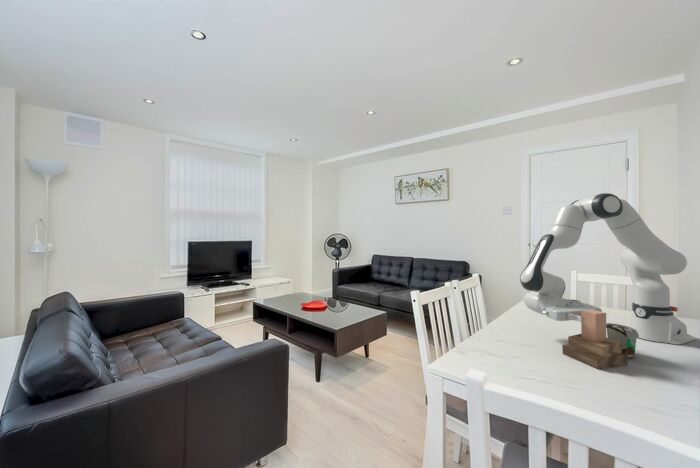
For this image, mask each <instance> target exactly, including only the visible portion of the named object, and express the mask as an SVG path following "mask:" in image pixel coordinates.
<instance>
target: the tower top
mask: <svg viewBox="0 0 700 468" xmlns="http://www.w3.org/2000/svg"><path fill="white" fill-rule="evenodd" d="M567 337H568V338H567V339H568V347H569V348H572V349H575V350H578V351H581V352H584V353H587V354H590V355H593V356H596V357H599V358H602V359H604V358H608V357H611V356H614V355H618V354H621V353H622V342H619V341H616V340H612V339H609V338H608V337H606V341H601V342H594V341H591V340H588V339H585V338H582V337H581V333H579V334H574V335H569V336H567Z"/></svg>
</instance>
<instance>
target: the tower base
mask: <svg viewBox="0 0 700 468" xmlns="http://www.w3.org/2000/svg"><path fill="white" fill-rule="evenodd" d="M562 355H564V356H566V357H568V358H570V359H572V360H576V361H577V362H580V363H582V364H584V365H586V366H588V367H591V368H592V369H596V370H602V369H603V370H605V369H610V368H617V367H619V368H620V367H625V366H629V363H628V362H629V361H628V360H629V359H628V355H625V354H623V353H621V354H618V355H614V356H611V357H608V358H604V359H602V358H599V357H596V356H593V355H590V354H587V353H584V352H581V351H578V350H575V349H572V348H569V347H568V344H562Z"/></svg>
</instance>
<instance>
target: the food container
mask: <svg viewBox="0 0 700 468" xmlns="http://www.w3.org/2000/svg"><path fill="white" fill-rule="evenodd" d="M606 337H607V338H609V339H612V340H616V341H619V342H622V353H623V354H625V355H628V360H633V359H635V355H636V348H637V347H636V346H637V339H640V338H639V335H638V332H637V330H636V329H634V328H631V327H629V326H627V325H623V324H619V323H610V322H606Z"/></svg>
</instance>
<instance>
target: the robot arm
mask: <svg viewBox="0 0 700 468" xmlns="http://www.w3.org/2000/svg"><path fill="white" fill-rule="evenodd" d="M599 220H604V222H605V224H606V225H607V226H608V228H609V230H610V231H611V232H612V234H613V235H614V237H615V238H616V240H617V241H618V243H620V244H621V245H622V246H623V247H626V249H624V250H623V251H622V252H621V255H620V257H619V258H620V262H621V264H622V265H623V266H624V267H625V268H626V270H627V272H628V274H629V276H630V280H631V283H632V289H633V290H632V291H633V292H632V293H633V302H632V303H631V308H632V309H631V310H632V312H631V313H630V316H629V324H628V325H629V326H628V327H631V328H634V329H636V330H637V332H638V335H639V338H638V339H642V340H646V341H651V342H656V343H657V342H658V343H667V344H672V345H678V346H679V345H683V344H686V343H689V342H692V341H693V342H694V341H696V340H697V338H696V337H695V336H693V335H691V334H688V327H687V325H686V324H685V322H683V321H681V320H680V319H679V318H678V317H676V315H674V312H675V313H677V312H678V310H679V308H678V307H677V306H672V305H671V303H670V301H671V292H670V291H671V290H670V287H669V286H668V285H667V284H666V283H665V282H664V280H663V279H662V276H666V275H667V276H669V275H677V274H678V275H679V274H680V273H682V272H683V271H685V270H686V267H687V266H688V261H687V258H686V256H685V255H684V254H683V253H681V252H680V251H677V250H676V249H674V248H672V247H670V245H668V244H667V243H666V242H664V241H663V240H661V239H660V237H658V236H657V235H656V234H655V233H654V232H652V230H651V229H650V228H649V226H648V225H647V224H646V222H645V221H644V220H643V218H642V217H641V216H640V214H639V213H638V212H637V210H636V209H635V208H634V207H633V206H632V205H631V204H630V203H629V202H628V201H626V200H625V199H622V198H620V197H618V196H617V195H615V194H613V193H609V192H608V193H607V192H606V193H600V194H599V193H598V194H594V195H589V196H588V195H587V196H586V197H584V198H581V199H577V200H574V201H573V202H571V203H570V204H565V205H562V206H561V207H560V208H559V209H558V210H557V212H556V214H555V216H554V218H553V221H552V224H551V227H550V230H549V231H548V233H547V234H545V235H543V236H541V238H540V239H539V241H538V242H537V244H536V246H535V248H534V251H533V252H532V255H531V256H530V259H529V260H528V263H527V264H526V266H525V267H524V268H523V270H522V272H521V273H520V276H519V281H520V284H521V286H522V288H523V289H524V290H527V291H529V292H527V293H526V294H525V295H524V298H523V301H524V304H525V306H526V308H528V309H529V310H531V311H532V312H535V313H537V314H540V315H542V316H543V315H544V316H546V317H547V318H549V319H552V320H554V321H556V322H557V321H558V322H567V321H574V322H575V321H577V322H583V321H584V317H583V316H581V310H590V309H592V310H596V311H601V312H603V310H602V308H600V307H598V306H596V305H592V304H589V303H585V302H581V300H577V299H567V298H563V296H564V294H565V291H566V282H565V280H564V279H563V278H562V277H560V276H558V275H554V274H552V273H549V272H547V271H544V266H545V264H546V263H547V260H548V258H549V256H550V254H551V253H552V252H553V251H554V250H559V249H560V250H561V249H569V248H572V247H574V246H575V245H577V244H578V242H579V241H580V238H581V234H582V231H583V227H584V224H585V222H595V221H599ZM661 275H662V276H661Z"/></svg>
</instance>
